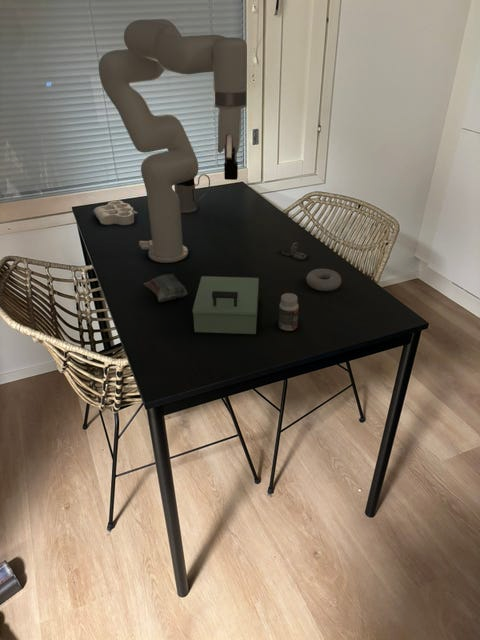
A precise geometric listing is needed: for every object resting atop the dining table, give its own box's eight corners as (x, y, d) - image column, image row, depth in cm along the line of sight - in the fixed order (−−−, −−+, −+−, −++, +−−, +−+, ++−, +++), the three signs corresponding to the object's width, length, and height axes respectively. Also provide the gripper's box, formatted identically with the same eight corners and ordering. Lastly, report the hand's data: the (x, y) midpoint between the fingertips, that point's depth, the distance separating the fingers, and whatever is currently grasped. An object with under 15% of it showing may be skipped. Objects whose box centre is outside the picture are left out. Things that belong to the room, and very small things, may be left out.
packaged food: (159, 309, 131) (157, 292, 128) (143, 289, 139) (142, 274, 137) (189, 301, 134) (188, 285, 132) (172, 282, 143) (171, 267, 140)
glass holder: (177, 204, 197) (175, 166, 189) (212, 206, 196) (211, 167, 188) (172, 212, 190) (169, 173, 182) (208, 214, 188) (207, 174, 180)
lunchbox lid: (256, 315, 117) (256, 298, 114) (192, 312, 118) (191, 296, 115) (258, 280, 131) (258, 264, 129) (201, 278, 132) (200, 263, 130)
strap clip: (307, 257, 157) (308, 245, 155) (302, 260, 155) (303, 248, 153) (285, 250, 162) (286, 238, 159) (279, 253, 160) (280, 241, 157)
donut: (299, 281, 144) (319, 296, 136) (299, 271, 142) (320, 285, 134) (327, 274, 148) (348, 288, 140) (328, 263, 146) (349, 277, 138)
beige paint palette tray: (92, 212, 189) (129, 206, 195) (103, 229, 176) (143, 222, 182) (90, 204, 188) (128, 198, 193) (102, 220, 174) (142, 213, 180)
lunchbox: (255, 334, 121) (256, 313, 118) (194, 332, 122) (193, 311, 119) (258, 300, 135) (258, 280, 131) (202, 298, 135) (201, 278, 132)
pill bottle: (296, 332, 122) (298, 303, 117) (277, 330, 123) (278, 301, 118) (298, 321, 126) (300, 293, 121) (279, 319, 126) (281, 291, 122)
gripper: (217, 94, 120) (219, 169, 130) (210, 105, 108) (213, 188, 118) (248, 94, 120) (247, 170, 130) (244, 105, 107) (244, 188, 117)
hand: (231, 178), depth 124 cm, fingers closed
